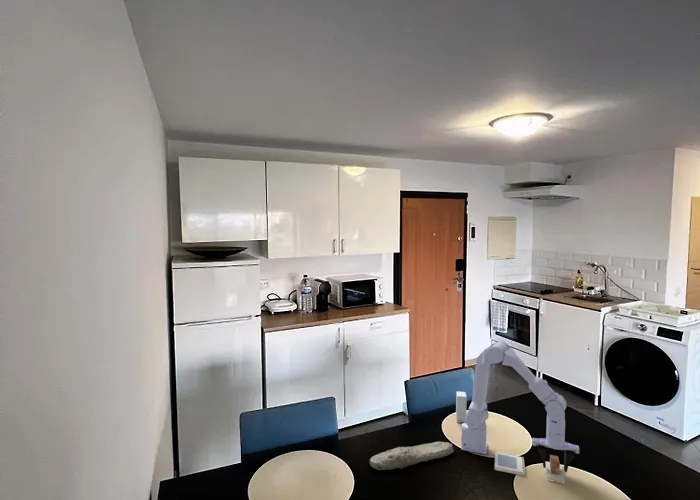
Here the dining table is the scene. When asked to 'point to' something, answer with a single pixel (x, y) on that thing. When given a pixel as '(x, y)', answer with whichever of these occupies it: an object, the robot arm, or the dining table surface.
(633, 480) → the dining table surface
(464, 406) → the skincare box
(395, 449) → the long grey stone
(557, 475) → the stub
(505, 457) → the ticket board
